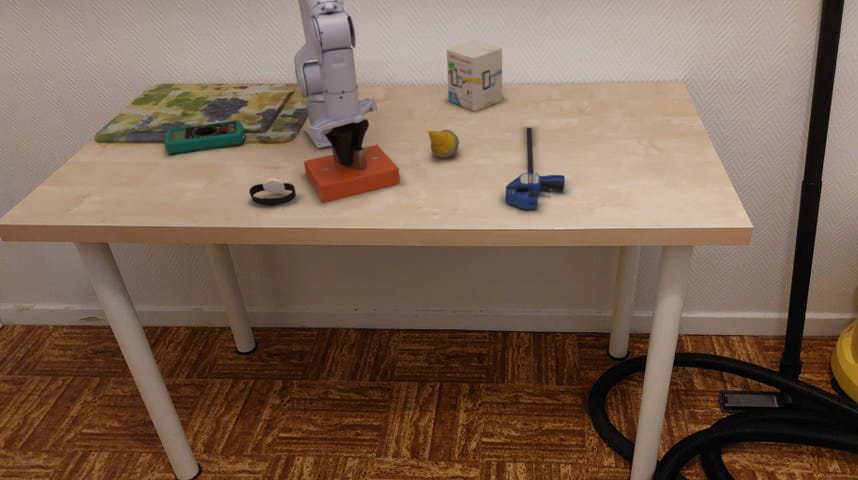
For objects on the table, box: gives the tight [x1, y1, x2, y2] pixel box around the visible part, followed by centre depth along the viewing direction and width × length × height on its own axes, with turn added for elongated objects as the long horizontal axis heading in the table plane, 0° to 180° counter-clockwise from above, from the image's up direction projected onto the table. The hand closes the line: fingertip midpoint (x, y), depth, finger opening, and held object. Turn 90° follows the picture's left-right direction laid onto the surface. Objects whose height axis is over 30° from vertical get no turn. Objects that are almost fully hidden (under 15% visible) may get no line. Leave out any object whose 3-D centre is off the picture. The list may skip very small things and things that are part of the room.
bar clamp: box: [505, 127, 566, 210], centre depth 134 cm, size 32×2×10 cm
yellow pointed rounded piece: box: [427, 129, 460, 160], centre depth 136 cm, size 5×5×10 cm
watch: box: [248, 177, 297, 207], centre depth 126 cm, size 8×5×4 cm, turn 91°
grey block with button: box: [331, 144, 367, 170], centre depth 129 cm, size 6×2×4 cm, turn 54°
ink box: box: [446, 39, 503, 112], centre depth 157 cm, size 8×8×12 cm
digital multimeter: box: [164, 119, 246, 155], centre depth 146 cm, size 7×15×3 cm, turn 105°
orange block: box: [303, 144, 401, 203], centre depth 131 cm, size 14×11×3 cm
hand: (350, 161), depth 130 cm, fingers closed on grey block with button, 2 cm apart
